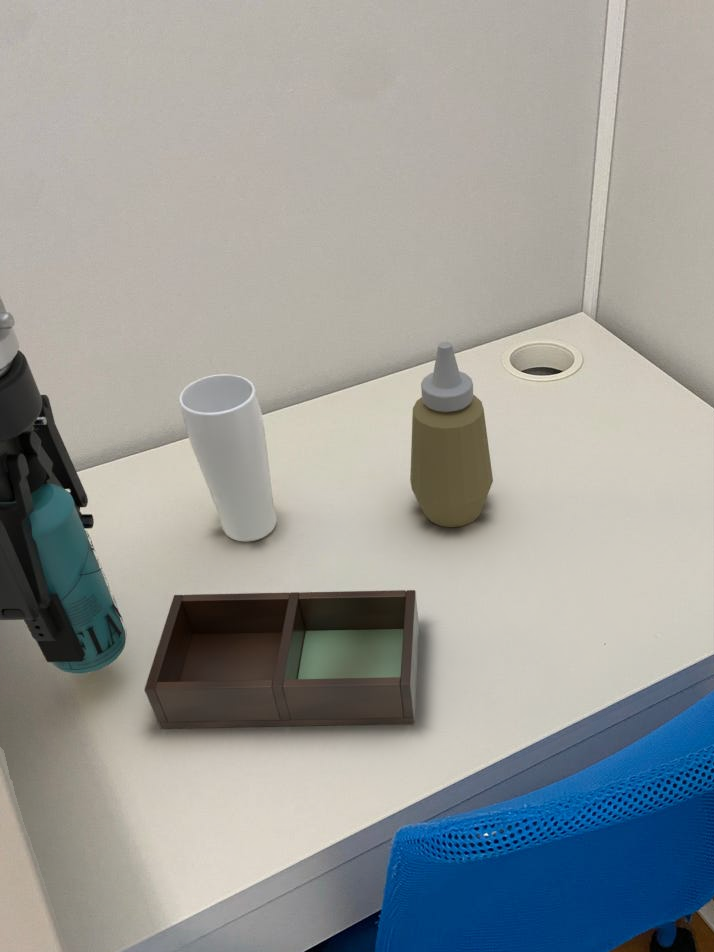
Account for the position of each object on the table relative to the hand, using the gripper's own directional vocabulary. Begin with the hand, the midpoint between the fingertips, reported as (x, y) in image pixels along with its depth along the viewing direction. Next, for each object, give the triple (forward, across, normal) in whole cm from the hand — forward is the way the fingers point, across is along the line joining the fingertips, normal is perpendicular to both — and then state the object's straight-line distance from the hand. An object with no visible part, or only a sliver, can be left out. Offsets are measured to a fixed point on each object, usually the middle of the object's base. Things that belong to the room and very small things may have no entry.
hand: (78, 625), depth 74 cm
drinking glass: (+7, +20, -9) cm, 23 cm away
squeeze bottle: (+6, +22, -29) cm, 37 cm away
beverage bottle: (+4, 0, 0) cm, 4 cm away
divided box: (+6, 0, -16) cm, 18 cm away
